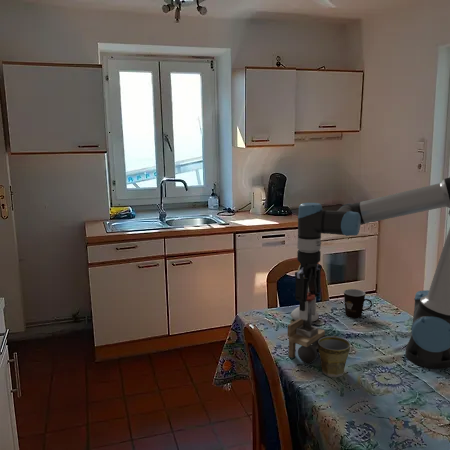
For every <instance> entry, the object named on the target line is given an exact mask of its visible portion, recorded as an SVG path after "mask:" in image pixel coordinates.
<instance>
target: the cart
mask: <svg viewBox="0 0 450 450" xmlns="http://www.w3.org/2000/svg"><path fill="white" fill-rule="evenodd" d="M287 337H288V357H290V358H292V359H294V358H295V357H296V346H297V345H298V346H299V348H298V350H297V355H298V358H299V360H300V361H302V363H305V364H311V363H313V362H314V361H316V360H317V358H318V354H319V349H318V340H319V339H320V338H322V337H326V330H324V329H322V328H321V329H320V328H319V327H317V326H314V325H311V328H305V327H303V319H300V318H299V319H298V320H294V321H293V322H291V323H289V324H287Z"/></svg>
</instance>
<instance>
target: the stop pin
mask: <svg viewBox="0 0 450 450" xmlns="http://www.w3.org/2000/svg"><path fill="white" fill-rule="evenodd" d="M312 300H315V294H314V293H311V292H308V293H307V300H306V301H308V320H303V327H305V328H311V326H312V323H313V322H312Z"/></svg>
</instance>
